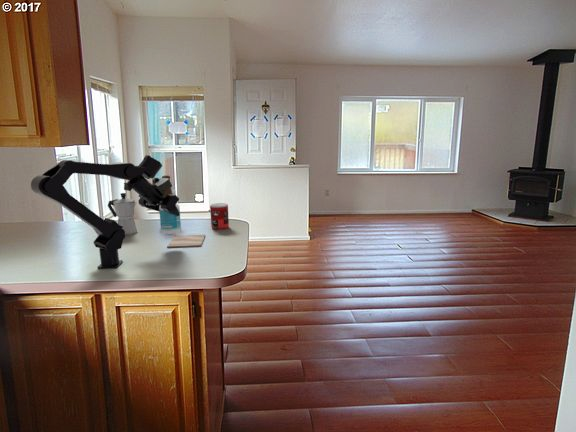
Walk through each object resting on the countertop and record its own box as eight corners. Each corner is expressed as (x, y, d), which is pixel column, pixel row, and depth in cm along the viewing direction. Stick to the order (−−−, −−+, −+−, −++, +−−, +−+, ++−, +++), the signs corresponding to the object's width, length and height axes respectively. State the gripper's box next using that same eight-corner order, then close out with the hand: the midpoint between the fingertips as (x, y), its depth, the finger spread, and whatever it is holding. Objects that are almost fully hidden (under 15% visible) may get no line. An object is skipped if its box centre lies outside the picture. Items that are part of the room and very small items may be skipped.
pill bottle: (182, 233, 152) (179, 198, 149) (161, 235, 150) (158, 200, 147) (180, 229, 159) (177, 195, 156) (160, 231, 157) (157, 197, 154)
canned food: (209, 227, 188) (208, 204, 185) (226, 225, 191) (225, 202, 188) (213, 230, 181) (212, 206, 178) (231, 228, 184) (229, 205, 182)
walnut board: (201, 246, 157) (201, 245, 157) (167, 247, 156) (167, 246, 156) (205, 235, 173) (205, 234, 172) (174, 236, 171) (174, 235, 171)
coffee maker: (145, 231, 182) (141, 191, 178) (133, 236, 174) (129, 195, 170) (117, 229, 186) (113, 191, 182) (104, 234, 178) (99, 194, 174)
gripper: (172, 172, 141) (199, 199, 151) (142, 170, 152) (169, 195, 163) (154, 198, 136) (183, 223, 147) (125, 193, 148) (154, 217, 159)
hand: (172, 213), depth 154 cm, fingers closed on pill bottle, 7 cm apart
